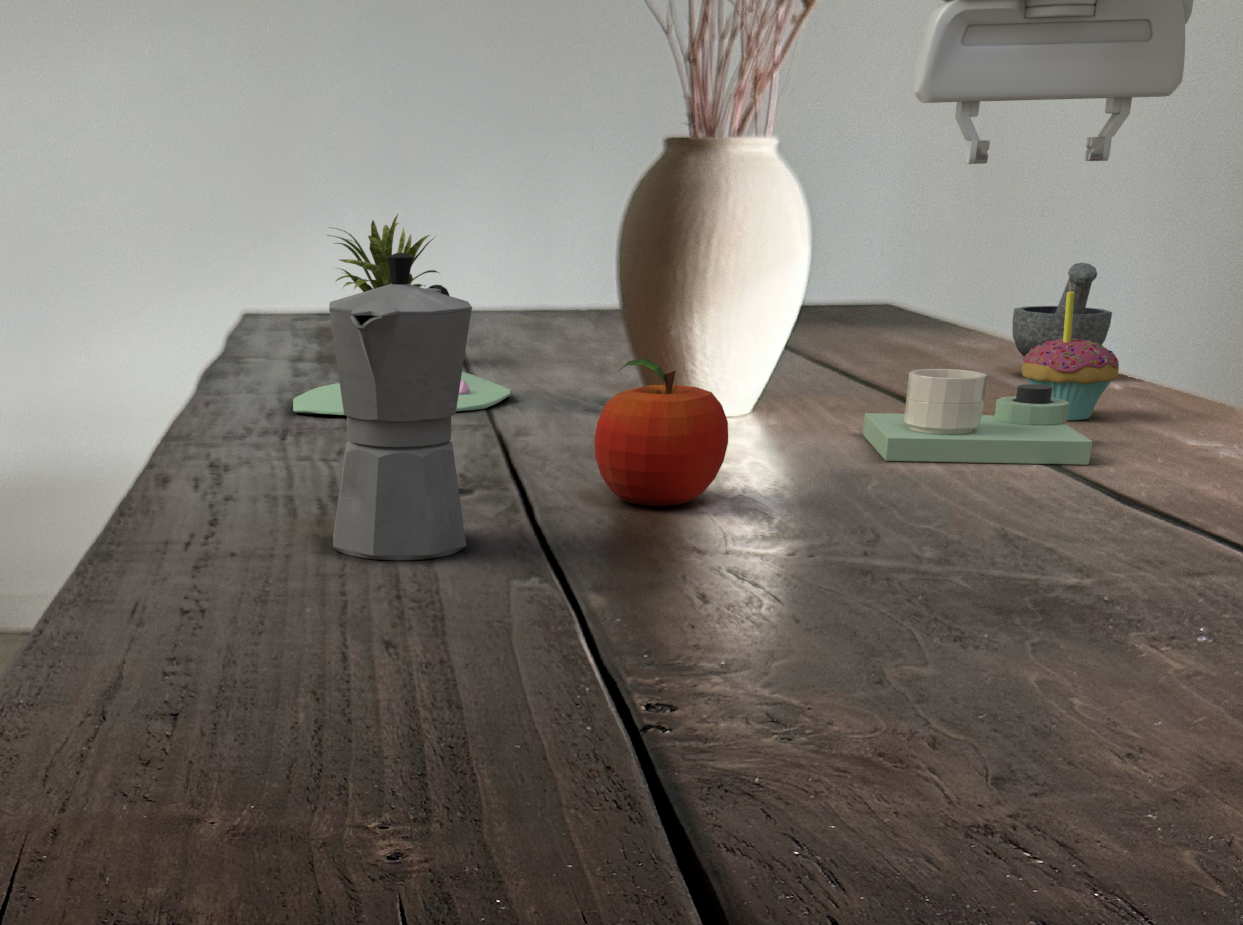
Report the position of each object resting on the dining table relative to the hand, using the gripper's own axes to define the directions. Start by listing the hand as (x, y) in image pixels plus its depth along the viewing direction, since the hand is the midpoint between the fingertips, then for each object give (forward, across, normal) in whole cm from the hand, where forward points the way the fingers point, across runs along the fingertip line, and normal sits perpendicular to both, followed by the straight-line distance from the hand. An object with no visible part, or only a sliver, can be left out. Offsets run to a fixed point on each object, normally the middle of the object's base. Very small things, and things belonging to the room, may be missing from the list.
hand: (1035, 162), depth 138 cm
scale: (+22, +3, +4) cm, 23 cm away
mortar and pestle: (+23, -15, -43) cm, 51 cm away
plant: (+21, +54, -19) cm, 61 cm away
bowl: (+20, +6, +6) cm, 22 cm away
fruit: (+22, +31, +29) cm, 47 cm away
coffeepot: (+22, +48, +43) cm, 68 cm away
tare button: (+19, -2, 0) cm, 19 cm away
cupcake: (+23, -9, -15) cm, 28 cm away
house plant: (+21, +59, -48) cm, 79 cm away
